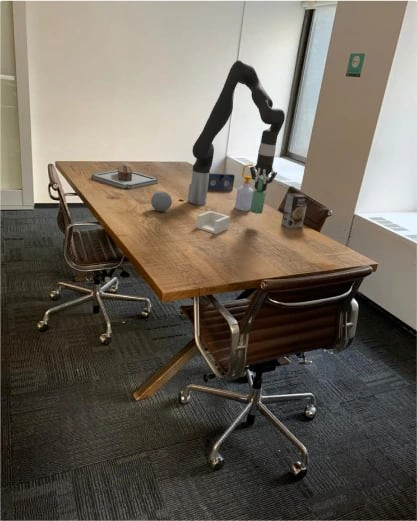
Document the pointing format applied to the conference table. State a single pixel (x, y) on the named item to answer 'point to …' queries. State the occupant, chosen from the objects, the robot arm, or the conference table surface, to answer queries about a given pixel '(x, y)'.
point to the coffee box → (294, 210)
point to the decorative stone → (161, 201)
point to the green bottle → (258, 198)
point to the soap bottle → (244, 194)
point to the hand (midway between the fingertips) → (259, 190)
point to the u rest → (212, 222)
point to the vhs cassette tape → (221, 182)
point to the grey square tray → (124, 178)
